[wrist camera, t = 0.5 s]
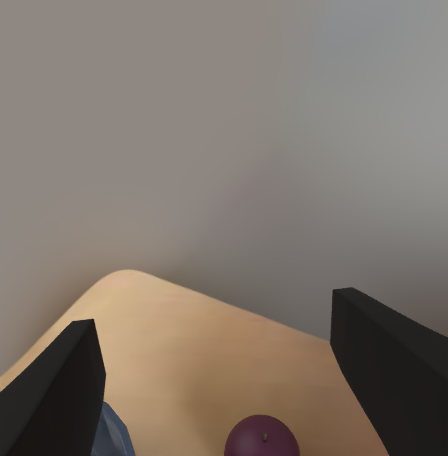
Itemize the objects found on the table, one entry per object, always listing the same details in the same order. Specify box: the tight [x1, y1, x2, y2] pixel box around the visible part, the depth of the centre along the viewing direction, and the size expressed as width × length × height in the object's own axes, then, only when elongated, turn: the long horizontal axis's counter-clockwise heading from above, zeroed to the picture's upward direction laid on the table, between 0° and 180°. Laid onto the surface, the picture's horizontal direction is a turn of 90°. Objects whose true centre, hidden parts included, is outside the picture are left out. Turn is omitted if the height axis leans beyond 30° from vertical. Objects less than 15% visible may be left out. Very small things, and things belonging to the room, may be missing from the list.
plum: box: [224, 415, 300, 456], centre depth 25 cm, size 5×5×6 cm
